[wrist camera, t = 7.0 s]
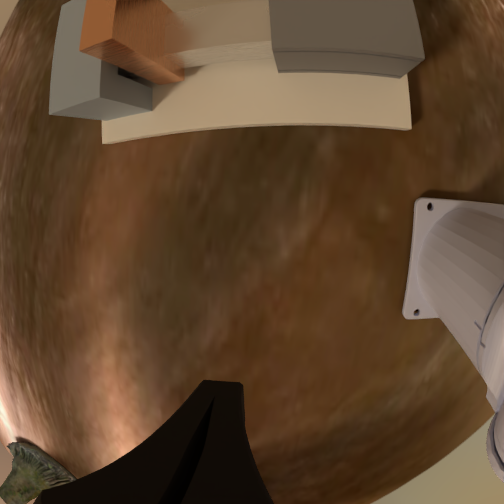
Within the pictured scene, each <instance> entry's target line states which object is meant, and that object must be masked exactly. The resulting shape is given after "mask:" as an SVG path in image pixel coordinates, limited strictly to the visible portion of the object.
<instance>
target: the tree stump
mask: <svg viewBox="0 0 504 504" xmlns="http://www.w3.org/2000/svg"><path fill="white" fill-rule="evenodd" d="M7 447H8V448H9V449H10V452H11V454H12V455H13V456H14V459H13V461H12V471H11V472H10V474H9V476H8V477H7V479H6V480H5V481H4V483H3V484H2V486H1V487H0V497H1V498H2V499H3V500H4V501H5V503H6V504H27V503H28V502H29V501H30V500H32V499H34V498H36V497H37V496H38V495H39V494H40V493H41V491H42V490H44V489H49V488H52V487H56V486H59V485H62V484H66V483H69V482H72V481H75V480H77V479H76V478H75V477H74V476H73V475H72V474H71V473H70V472H69V471H68V470H66V469H65V468H64V467H63V466H62V465H61V464H59V463H58V462H57V461H55V460H54V459H53V458H52V457H50V456H49V455H47V454H46V453H45V452H43V451H42V450H41V449H39V448H38V447H37V446H35V445H33V444H31V443H18V442H12V443H11V444H9V446H7ZM64 472H65V473H64ZM67 475H68V476H67Z"/></svg>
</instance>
